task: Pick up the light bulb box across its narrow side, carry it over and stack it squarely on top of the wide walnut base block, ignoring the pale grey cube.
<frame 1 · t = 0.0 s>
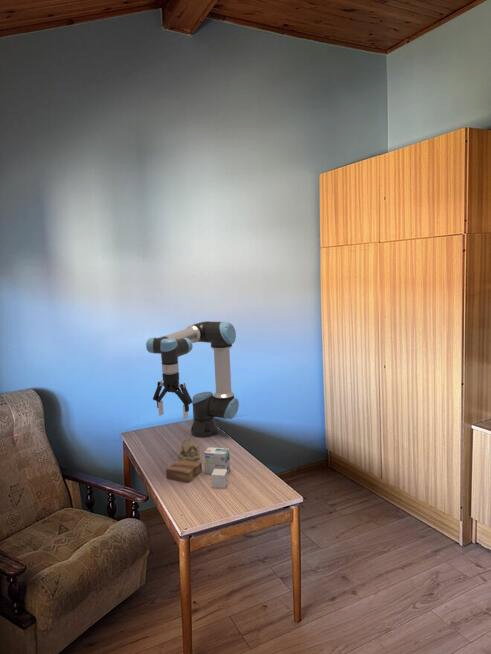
hand: (173, 416, 233), 28 cm above the table, fingers open, 13 cm apart
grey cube: (220, 484, 225), on the table
light bulb box: (218, 471, 238), on the table
ceramic model: (190, 457, 256), on the table
base block: (184, 475, 235), on the table
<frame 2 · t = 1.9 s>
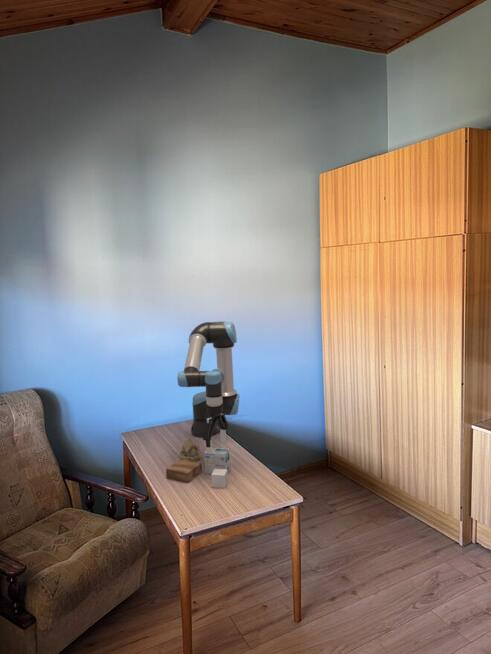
hand: (216, 447, 236), 12 cm above the table, fingers open, 13 cm apart
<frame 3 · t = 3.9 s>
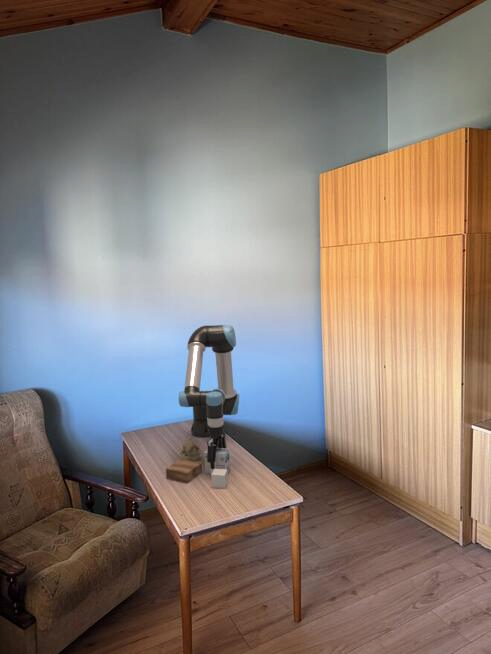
hand: (217, 470, 238), 0 cm above the table, fingers closed on light bulb box, 7 cm apart
light bulb box: (217, 471, 238), on the table, touching gripper
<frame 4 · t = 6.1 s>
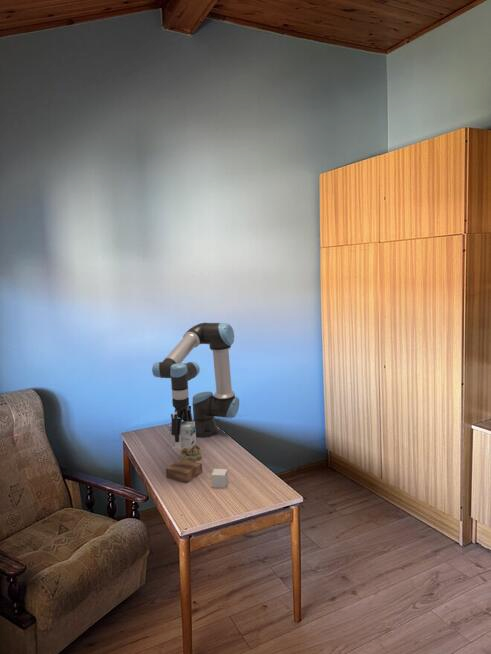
hand: (183, 444, 233), 15 cm above the table, fingers closed on light bulb box, 7 cm apart
light bulb box: (183, 445, 233), point 15 cm above the table, touching gripper
when the fingers open (6 cm above the table, at t = 8.5 s): light bulb box drops 1 cm, resting on base block.
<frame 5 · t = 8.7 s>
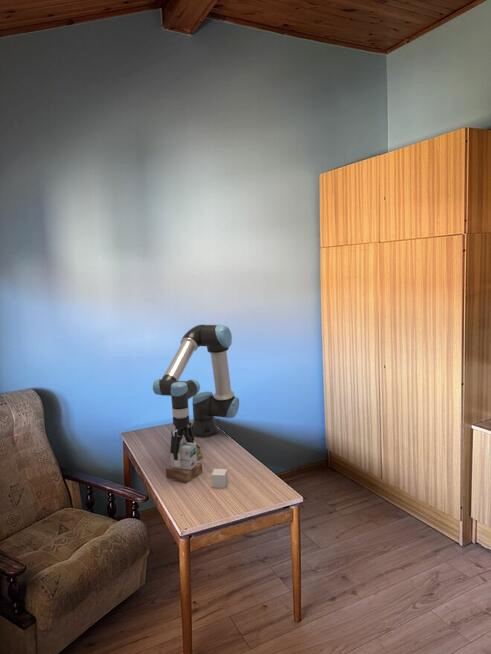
hand: (183, 461, 234), 7 cm above the table, fingers open, 10 cm apart
light bulb box: (184, 466, 234), point 4 cm above the table, touching base block
base block: (184, 476, 235), on the table, touching light bulb box
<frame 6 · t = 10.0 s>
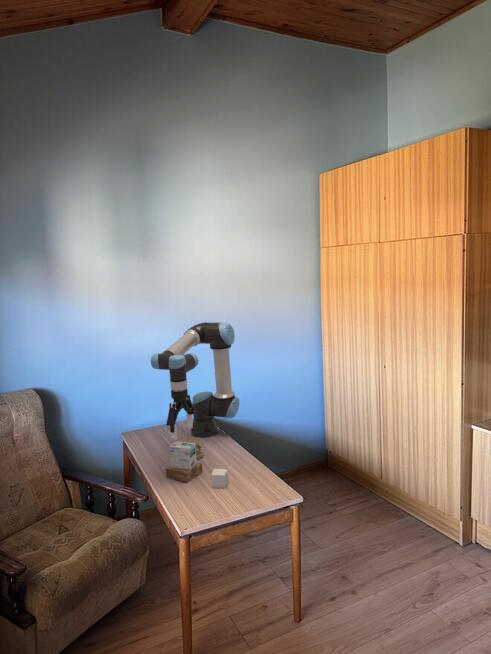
hand: (182, 433, 232), 21 cm above the table, fingers open, 13 cm apart
light bulb box: (183, 466, 235), point 4 cm above the table
base block: (184, 476, 236), on the table
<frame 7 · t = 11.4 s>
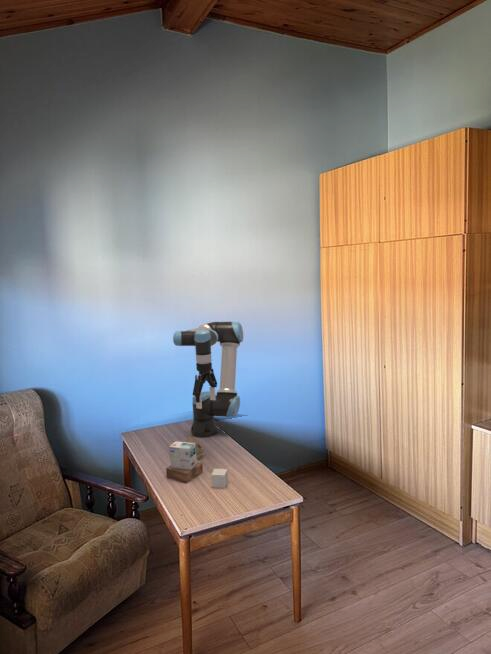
hand: (206, 404, 248), 29 cm above the table, fingers open, 13 cm apart
light bulb box: (184, 466, 235), point 4 cm above the table, touching base block
base block: (184, 475, 236), on the table, touching light bulb box
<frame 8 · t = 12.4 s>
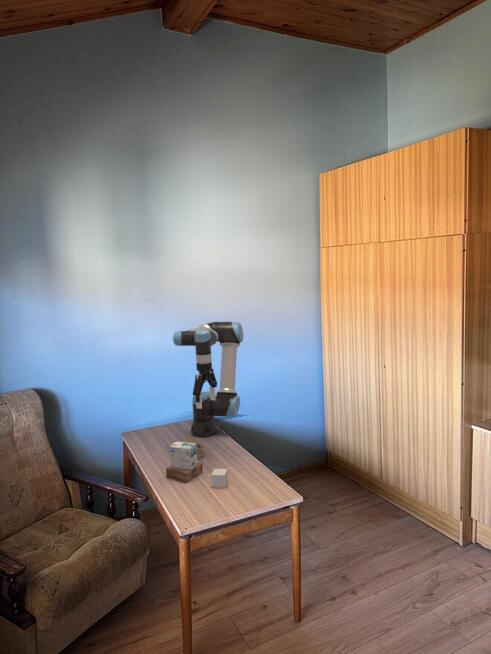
hand: (206, 404, 248), 29 cm above the table, fingers open, 13 cm apart
at the end: light bulb box inside the target area on the base block (0.3 cm from its centre), point 4.9 cm above the base block's base; light bulb box tilted 1°; the gripper is holding nothing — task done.
